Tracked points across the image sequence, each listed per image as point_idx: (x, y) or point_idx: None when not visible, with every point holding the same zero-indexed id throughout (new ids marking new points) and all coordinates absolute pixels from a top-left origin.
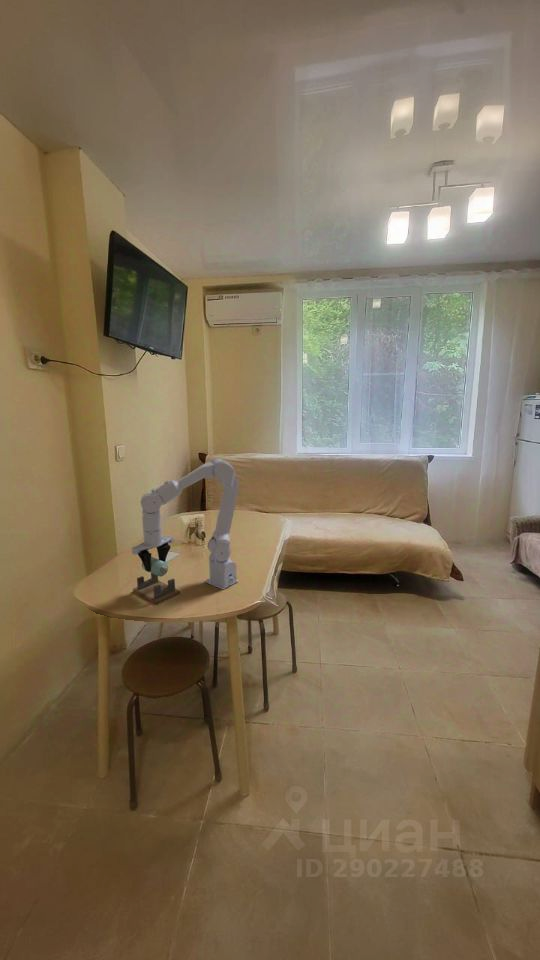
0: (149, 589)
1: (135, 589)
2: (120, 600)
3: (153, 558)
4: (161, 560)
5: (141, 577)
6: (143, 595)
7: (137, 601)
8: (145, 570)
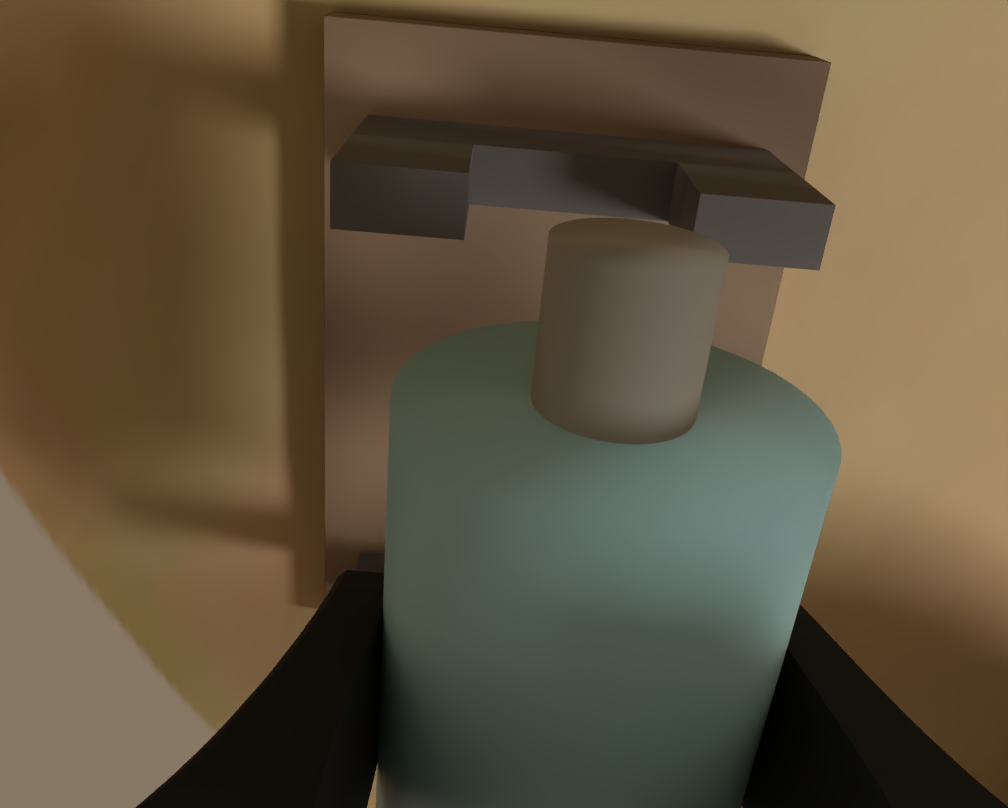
0: (485, 295)
1: (338, 84)
2: (31, 107)
3: (615, 786)
4: (780, 787)
5: (420, 214)
6: (326, 343)
7: (207, 355)
8: (337, 578)
